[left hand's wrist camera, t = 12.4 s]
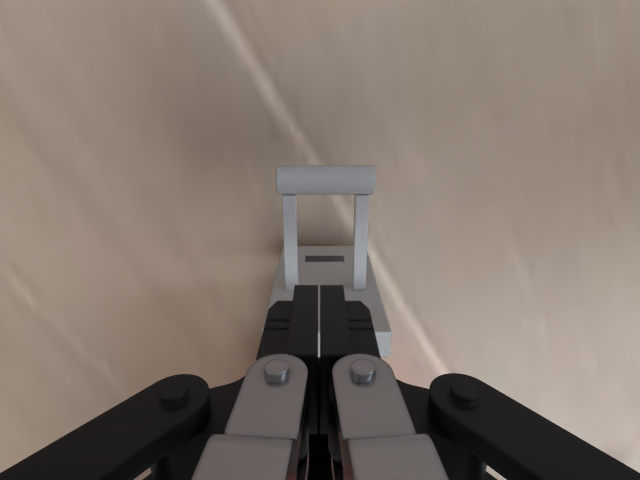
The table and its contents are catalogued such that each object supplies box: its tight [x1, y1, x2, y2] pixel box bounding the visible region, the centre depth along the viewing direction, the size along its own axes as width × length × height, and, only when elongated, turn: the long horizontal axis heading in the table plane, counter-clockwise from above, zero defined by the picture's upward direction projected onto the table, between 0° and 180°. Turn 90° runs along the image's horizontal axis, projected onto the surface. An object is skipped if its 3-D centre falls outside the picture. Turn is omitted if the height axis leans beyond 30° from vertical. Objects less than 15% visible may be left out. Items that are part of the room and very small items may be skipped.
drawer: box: [262, 165, 392, 480], centre depth 22 cm, size 22×5×10 cm, turn 0°
